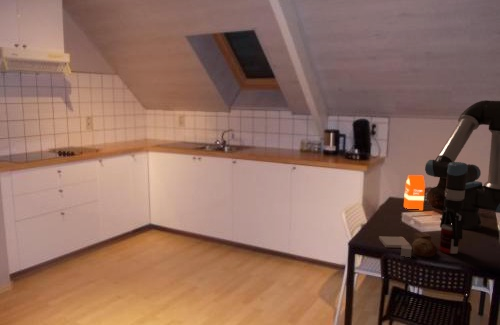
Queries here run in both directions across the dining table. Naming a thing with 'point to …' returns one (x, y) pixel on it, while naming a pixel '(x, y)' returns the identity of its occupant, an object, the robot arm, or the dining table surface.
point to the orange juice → (414, 192)
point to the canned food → (446, 239)
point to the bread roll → (423, 247)
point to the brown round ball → (422, 236)
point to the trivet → (393, 241)
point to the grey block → (406, 251)
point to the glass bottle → (437, 194)
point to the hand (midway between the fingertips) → (448, 249)
